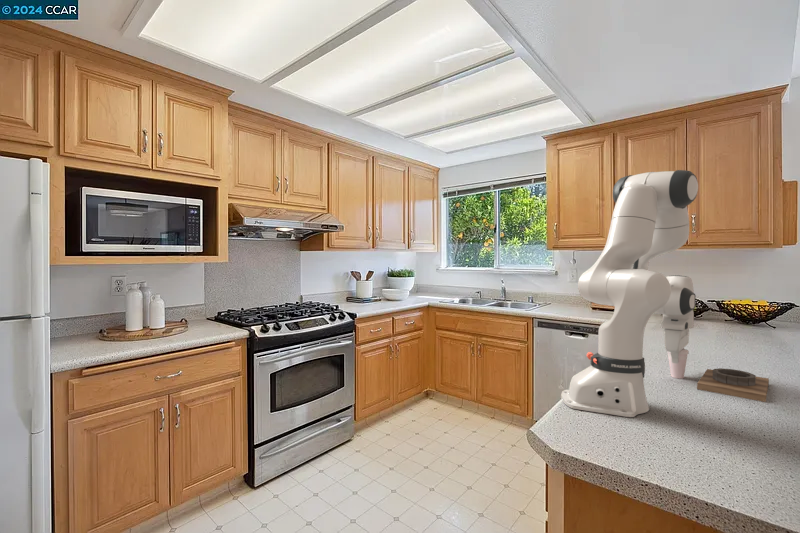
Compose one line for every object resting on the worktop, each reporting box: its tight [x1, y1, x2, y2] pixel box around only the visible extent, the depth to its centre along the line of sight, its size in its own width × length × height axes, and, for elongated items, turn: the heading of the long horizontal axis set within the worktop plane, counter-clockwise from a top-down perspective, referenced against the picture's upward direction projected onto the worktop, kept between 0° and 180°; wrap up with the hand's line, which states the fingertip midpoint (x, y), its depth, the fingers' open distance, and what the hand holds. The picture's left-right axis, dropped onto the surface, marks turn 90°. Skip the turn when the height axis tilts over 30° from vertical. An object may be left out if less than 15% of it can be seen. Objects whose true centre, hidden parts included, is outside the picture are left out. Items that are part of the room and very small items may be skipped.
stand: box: [696, 368, 770, 403], centre depth 126 cm, size 22×16×4 cm
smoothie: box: [667, 348, 690, 380], centre depth 137 cm, size 6×6×14 cm
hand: (677, 360), depth 137 cm, fingers closed on smoothie, 6 cm apart
